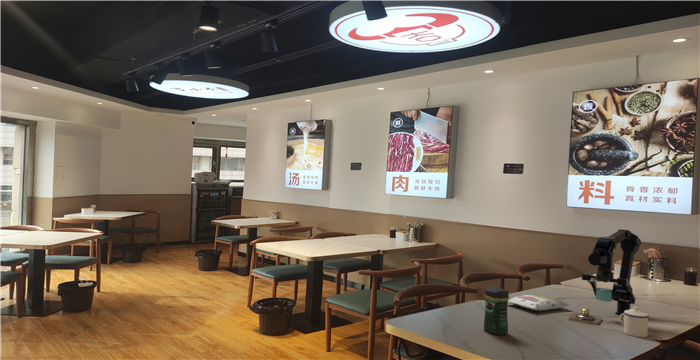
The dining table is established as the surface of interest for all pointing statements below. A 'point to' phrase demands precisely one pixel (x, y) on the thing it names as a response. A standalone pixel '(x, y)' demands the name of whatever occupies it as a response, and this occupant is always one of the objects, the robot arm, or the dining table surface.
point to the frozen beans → (537, 302)
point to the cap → (604, 294)
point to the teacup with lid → (635, 322)
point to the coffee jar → (496, 310)
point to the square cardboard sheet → (585, 317)
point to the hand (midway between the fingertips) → (603, 297)
